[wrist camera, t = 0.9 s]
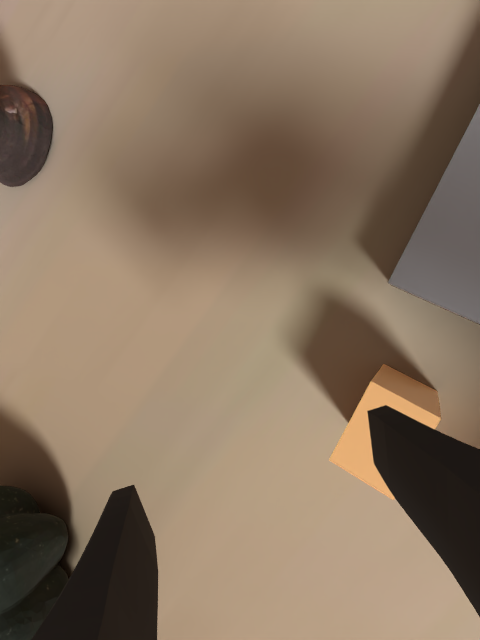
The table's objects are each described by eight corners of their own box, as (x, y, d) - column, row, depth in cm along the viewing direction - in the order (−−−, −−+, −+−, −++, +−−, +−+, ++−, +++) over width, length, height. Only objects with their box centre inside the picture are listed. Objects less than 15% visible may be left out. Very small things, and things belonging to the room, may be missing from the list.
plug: (437, 391, 23) (441, 418, 17) (401, 454, 24) (393, 500, 18) (383, 363, 24) (370, 381, 18) (350, 425, 25) (328, 460, 19)
